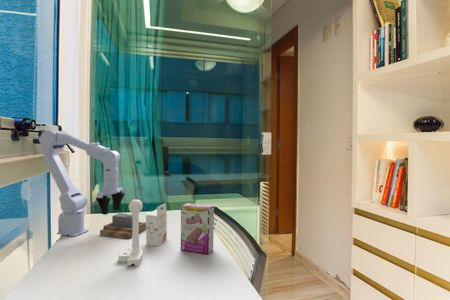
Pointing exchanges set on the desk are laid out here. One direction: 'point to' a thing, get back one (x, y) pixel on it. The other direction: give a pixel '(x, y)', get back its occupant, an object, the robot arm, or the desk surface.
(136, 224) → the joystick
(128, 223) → the housing
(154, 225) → the ink cartridge box
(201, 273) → the desk surface
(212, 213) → the candy bar box
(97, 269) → the desk surface
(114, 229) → the stand
